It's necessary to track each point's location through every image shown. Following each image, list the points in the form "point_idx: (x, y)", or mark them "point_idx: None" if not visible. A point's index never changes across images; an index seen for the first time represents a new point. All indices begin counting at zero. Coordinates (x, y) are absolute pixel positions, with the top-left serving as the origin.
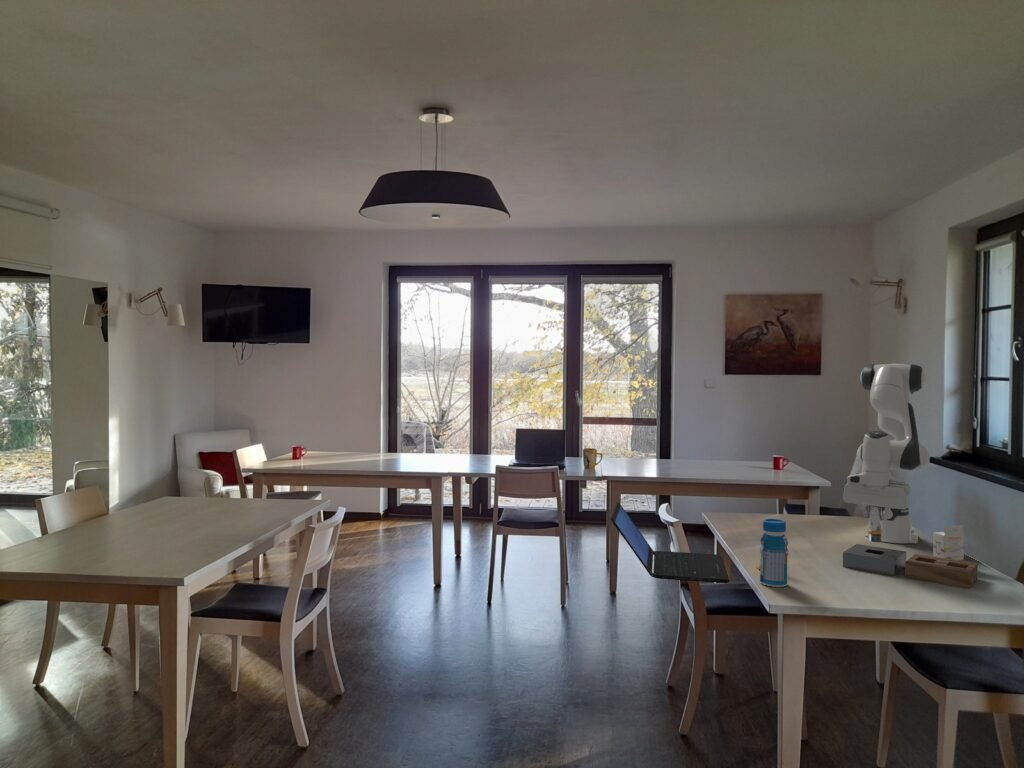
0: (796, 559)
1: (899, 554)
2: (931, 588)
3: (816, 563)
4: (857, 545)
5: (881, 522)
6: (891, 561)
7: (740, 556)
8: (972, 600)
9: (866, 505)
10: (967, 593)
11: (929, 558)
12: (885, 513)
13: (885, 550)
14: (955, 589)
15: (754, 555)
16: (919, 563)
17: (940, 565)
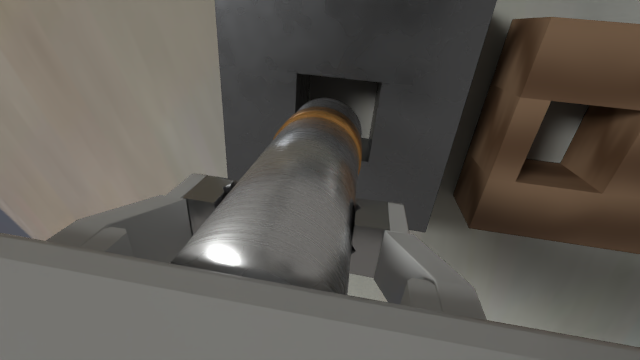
0: (113, 166)
1: (452, 101)
2: (523, 277)
3: (176, 180)
4: (230, 18)
5: (355, 200)
6: (413, 227)
7: (13, 218)
8: (621, 331)
9: (112, 247)
10: (634, 280)
11: (613, 98)
12: (396, 302)
13: (379, 47)
14: (606, 256)
15: (20, 188)
16: (528, 226)
17: (626, 217)
